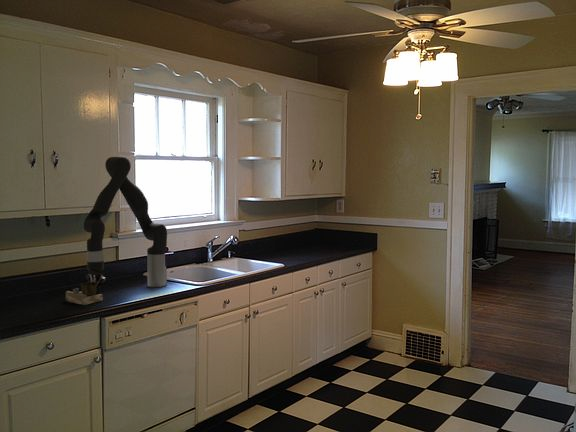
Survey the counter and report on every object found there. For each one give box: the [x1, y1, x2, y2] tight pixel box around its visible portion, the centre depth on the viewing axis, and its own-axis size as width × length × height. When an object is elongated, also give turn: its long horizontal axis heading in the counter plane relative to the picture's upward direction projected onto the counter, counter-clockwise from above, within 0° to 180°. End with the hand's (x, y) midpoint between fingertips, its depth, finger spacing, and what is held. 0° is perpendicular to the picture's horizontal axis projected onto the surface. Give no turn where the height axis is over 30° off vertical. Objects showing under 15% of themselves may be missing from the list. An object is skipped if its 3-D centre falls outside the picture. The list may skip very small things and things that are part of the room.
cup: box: [80, 281, 98, 297], centre depth 264 cm, size 8×7×8 cm
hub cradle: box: [65, 287, 104, 306], centre depth 261 cm, size 11×13×6 cm
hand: (96, 295), depth 268 cm, fingers closed
